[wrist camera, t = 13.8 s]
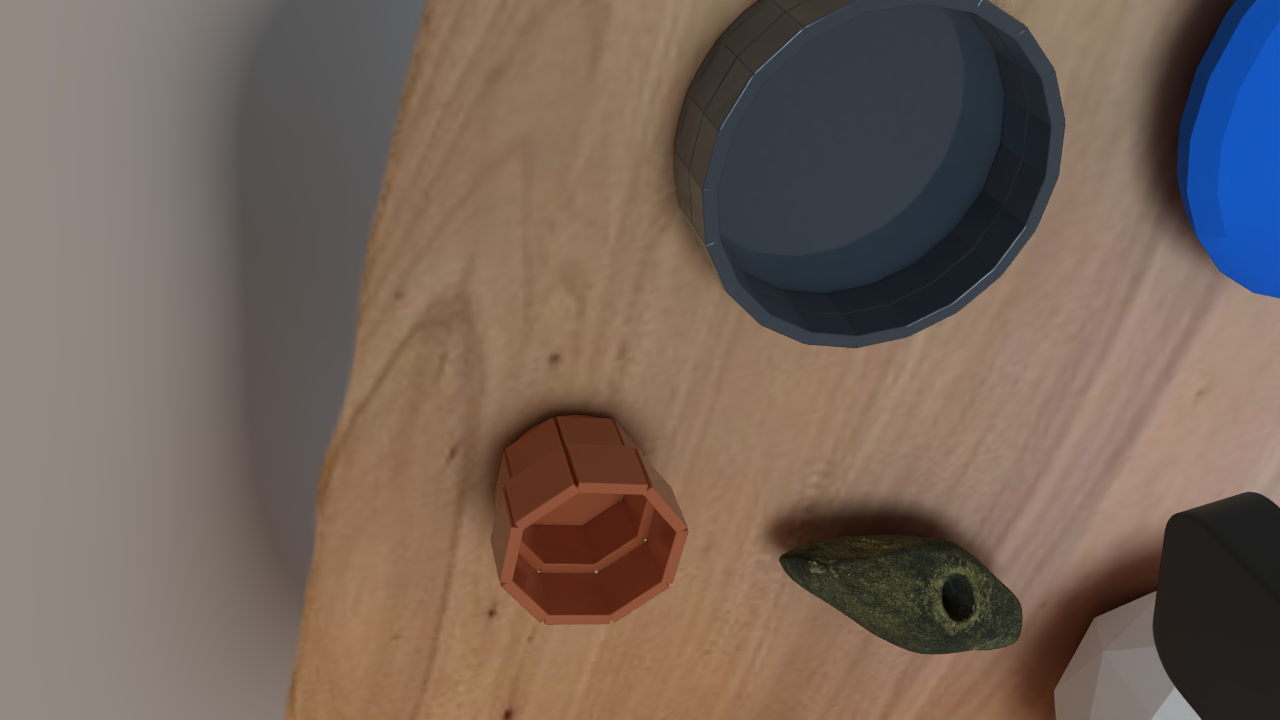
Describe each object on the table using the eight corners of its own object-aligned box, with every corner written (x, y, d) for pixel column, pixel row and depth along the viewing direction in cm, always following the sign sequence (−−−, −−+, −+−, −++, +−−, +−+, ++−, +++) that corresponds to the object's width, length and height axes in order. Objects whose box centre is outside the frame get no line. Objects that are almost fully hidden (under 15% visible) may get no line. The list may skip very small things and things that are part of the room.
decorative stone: (1014, 465, 50) (1078, 542, 46) (988, 597, 54) (1045, 678, 50) (766, 508, 48) (810, 593, 44) (758, 642, 52) (798, 731, 48)
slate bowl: (637, 282, 41) (663, 334, 38) (726, -74, 35) (764, -45, 32) (938, 309, 45) (982, 358, 42) (1063, -8, 39) (1124, 23, 36)
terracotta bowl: (472, 532, 45) (490, 625, 41) (499, 395, 42) (521, 480, 38) (628, 535, 47) (660, 624, 43) (664, 404, 44) (702, 486, 40)
